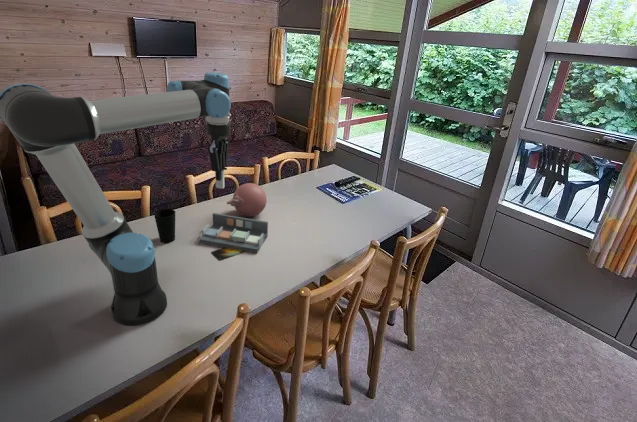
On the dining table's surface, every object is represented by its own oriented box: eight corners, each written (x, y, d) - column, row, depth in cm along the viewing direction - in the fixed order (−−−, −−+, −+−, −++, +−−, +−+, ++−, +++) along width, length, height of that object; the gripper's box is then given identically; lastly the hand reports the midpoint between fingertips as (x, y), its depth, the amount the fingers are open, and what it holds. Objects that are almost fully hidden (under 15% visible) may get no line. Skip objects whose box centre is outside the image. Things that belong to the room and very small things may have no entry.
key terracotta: (229, 242, 146) (229, 238, 145) (218, 240, 146) (218, 236, 146) (234, 236, 150) (234, 232, 149) (223, 234, 151) (223, 230, 150)
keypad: (257, 253, 142) (257, 238, 139) (199, 243, 145) (198, 228, 142) (267, 236, 155) (268, 221, 152) (214, 227, 157) (213, 212, 154)
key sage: (243, 242, 145) (243, 237, 144) (232, 240, 145) (232, 236, 144) (247, 236, 149) (247, 232, 148) (236, 234, 150) (236, 230, 149)
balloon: (217, 214, 168) (216, 184, 161) (253, 204, 181) (254, 175, 174) (235, 228, 158) (235, 196, 151) (272, 216, 171) (273, 186, 164)
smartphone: (210, 252, 140) (244, 240, 149) (210, 253, 140) (244, 241, 150) (219, 260, 135) (253, 248, 145) (219, 262, 136) (253, 249, 145)
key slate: (216, 240, 147) (215, 235, 146) (204, 238, 147) (204, 233, 146) (220, 234, 151) (220, 230, 150) (209, 232, 151) (209, 228, 150)
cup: (170, 245, 141) (168, 218, 136) (153, 242, 143) (149, 215, 137) (181, 236, 148) (179, 210, 143) (164, 233, 149) (161, 207, 144)
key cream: (257, 247, 145) (257, 242, 144) (245, 245, 145) (245, 240, 144) (261, 241, 149) (261, 237, 148) (249, 239, 149) (249, 235, 149)
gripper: (221, 128, 115) (222, 196, 125) (236, 119, 126) (236, 182, 137) (198, 125, 115) (202, 192, 126) (215, 117, 127) (217, 179, 137)
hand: (220, 187), depth 131 cm, fingers closed
